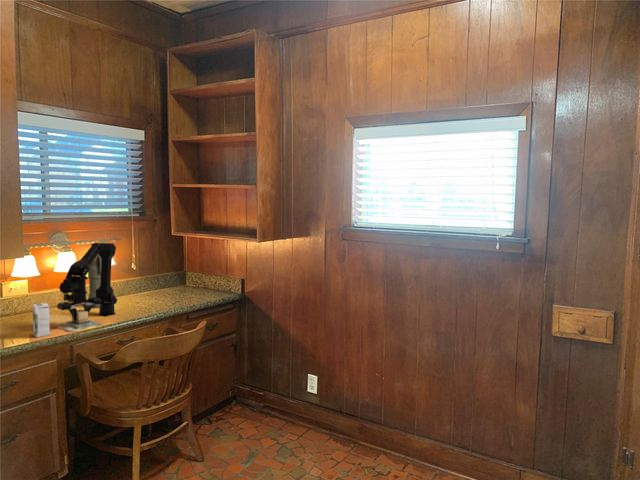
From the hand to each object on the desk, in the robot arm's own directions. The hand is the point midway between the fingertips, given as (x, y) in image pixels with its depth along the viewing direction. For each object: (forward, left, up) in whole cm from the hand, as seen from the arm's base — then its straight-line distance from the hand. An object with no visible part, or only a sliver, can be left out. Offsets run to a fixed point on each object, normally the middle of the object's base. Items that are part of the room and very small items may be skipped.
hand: (80, 320), depth 215 cm
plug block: (0, 0, -2) cm, 2 cm away
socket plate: (0, 0, -3) cm, 3 cm away
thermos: (-26, -33, -3) cm, 42 cm away
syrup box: (+18, +1, -3) cm, 18 cm away
